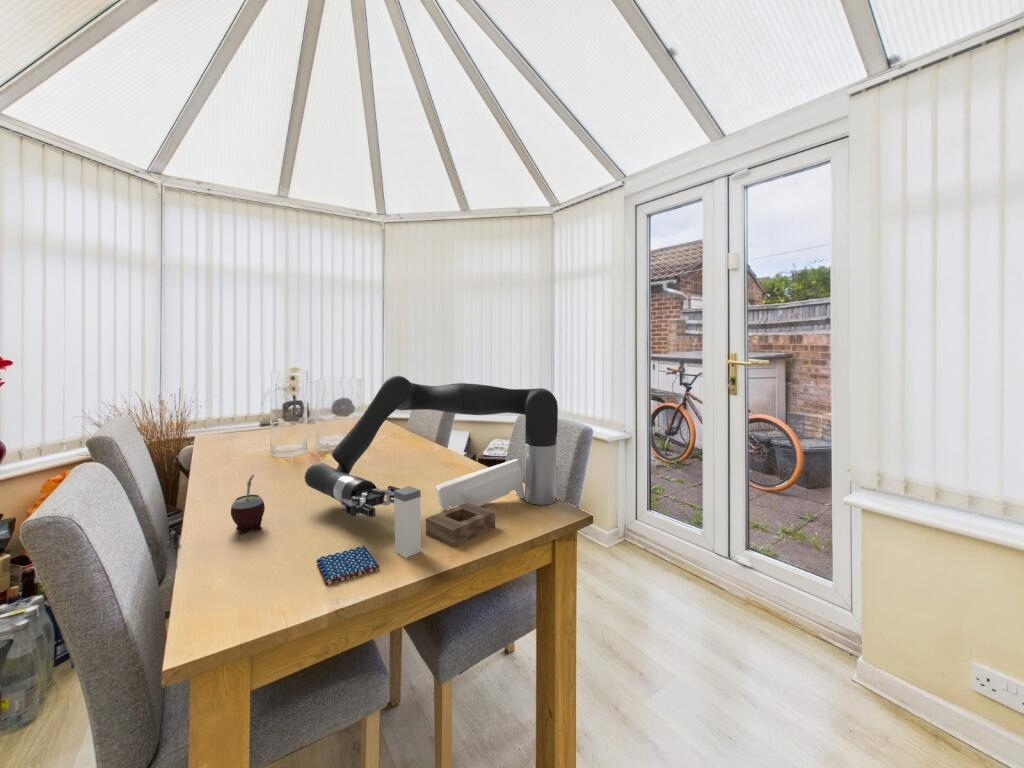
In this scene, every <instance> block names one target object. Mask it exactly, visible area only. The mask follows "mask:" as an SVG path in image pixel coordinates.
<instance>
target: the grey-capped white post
mask: <svg viewBox="0 0 1024 768" xmlns="http://www.w3.org/2000/svg"><path fill="white" fill-rule="evenodd" d="M393 500H394V503H393V510H394V515H393V516H394V553H396V554H397V555H399V554H400V555H399V556H402V557H403V556H404V557H403V558H405V559H407V558H409V557H412V556H414V555H416V554H418V553H421V552H422V533H421V532H422V531H421V530H422V529H421V527H422V526H421V522H422V521H421V489H418V488H416V487H413V486H410V485H409V486H404V487H402V488H400V489H397V490H394V498H393ZM411 555H412V556H411Z"/></svg>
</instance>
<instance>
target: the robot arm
mask: <svg viewBox="0 0 1024 768" xmlns="http://www.w3.org/2000/svg"><path fill="white" fill-rule="evenodd" d="M397 410H398V411H414V410H415V411H417V410H418V411H419V410H428V411H429V410H431V411H439V412H444V413H449V414H457V415H470V416H489V415H497V414H508V413H509V414H518V415H523V416H525V422H524V423H525V427H524V428H525V431H524V439H525V440H524V444H525V447H524V495H525V499H524V501H525V502H527V503H529V504H531V505H535V504H536V505H537V506H538V505H539V506H548V505H552V504H554V503H555V502H556V500H557V498H558V466H557V438H558V436H557V435H558V425H559V424H558V422H559V420H558V417H559V413H558V412H559V406H558V400H557V398H556V396H555V395H554V394H553V393H552V392H551V391H549V389H546V388H542V387H541V388H519V389H518V388H517V389H516V388H507V387H500V386H494V385H487V384H479V383H467V382H465V383H464V382H459V383H458V382H456V383H449V384H441V385H425V384H420V383H413V382H411V381H410V380H408V379H407V378H406V377H405V376H402V375H395V376H394V375H393V376H391V377H389V378H387V379H386V380H385V381H384V382H383V384H382V385H381V387H380V388H379V390H378V391H377V393H376V395H375V396H374V398H373V400H372V401H371V403H370V404H369V405H368V407H367V408H366V410H365V411H364V413H363V414H362V415H361V417H360V418H359V419H358V421H357V422H356V423H355V425H353V426H352V428H351V429H350V431H348V432H347V434H346V435H345V436H344V437H343V438H342V439H341V441H340V442H339V443H338V444H337V445H336V446H335V448H334V449H333V450H332V451H331V457H332V458H333V460H334V461H335V462H336V463H338V466H337V467H336V469H335V468H333V467H332V466H330V465H328V464H327V463H323V462H317V463H313V464H312V465H310V466H309V467H308V468H307V470H306V471H305V473H304V482H305V483H306V484H305V485H307V486H308V487H310V488H312V489H313V490H316V491H318V492H320V493H322V494H323V495H326V496H329V497H331V498H332V499H334V500H336V501H338V502H339V503H340V505H341V506H340V509H341V512H343V513H345V514H346V515H348V516H349V517H356V516H357V515H358V514H359V515H360V516H362V515H364V516H366V517H368V518H371V519H373V518H375V517H376V515H377V513H376V507H378V506H390V505H391V504H394V490H397V489H401V488H399V487H397V486H393V485H388V486H387V489H380V488H378V487H377V486H376V485H375V483H374V482H373V481H370V480H369V479H368V480H367V479H365V478H362V477H360V476H358V475H352V474H350V473H351V471H352V470H353V468H354V466H355V464H356V463H357V462H358V460H359V459H361V457H362V456H363V455H364V453H365V452H366V451H367V450H368V448H369V447H370V446H371V444H372V443H373V441H374V439H375V437H376V436H377V433H378V431H379V430H380V428H381V426H382V425H383V424H384V422H385V421H386V420H387V419H388V418H389V417H390V416H391V415H392V414H393V413H394V412H395V411H397ZM385 498H386V500H385ZM392 498H393V499H392Z"/></svg>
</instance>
